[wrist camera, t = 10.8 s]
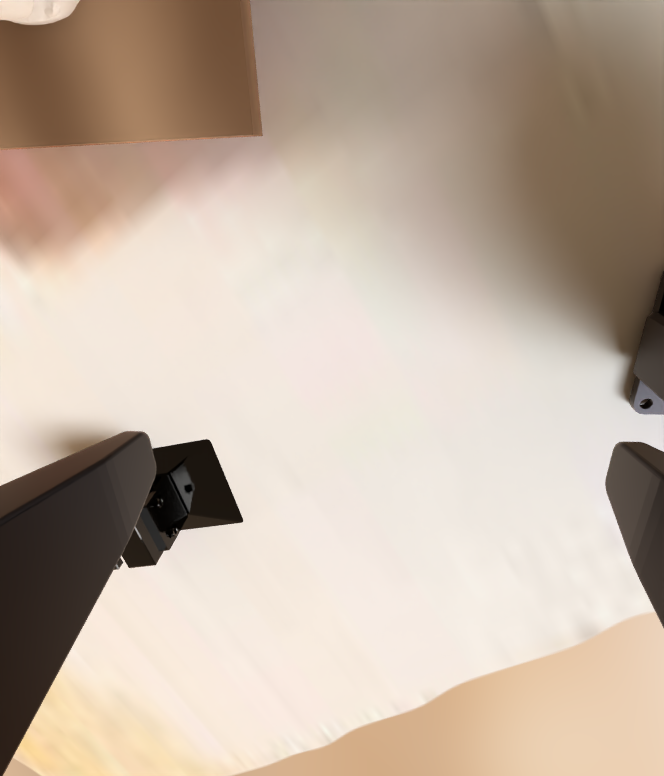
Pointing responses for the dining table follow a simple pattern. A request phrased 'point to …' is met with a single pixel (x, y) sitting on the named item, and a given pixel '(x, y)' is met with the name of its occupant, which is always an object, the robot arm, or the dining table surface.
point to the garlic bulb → (36, 11)
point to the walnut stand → (130, 74)
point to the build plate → (180, 501)
